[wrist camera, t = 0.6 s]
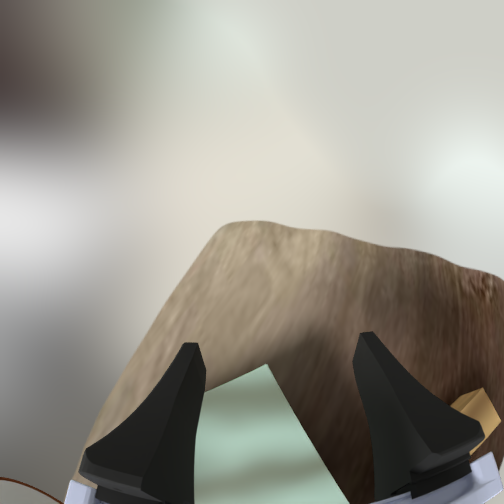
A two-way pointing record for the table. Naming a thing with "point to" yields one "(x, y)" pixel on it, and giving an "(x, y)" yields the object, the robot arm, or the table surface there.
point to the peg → (478, 411)
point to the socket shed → (257, 448)
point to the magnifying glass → (23, 493)
